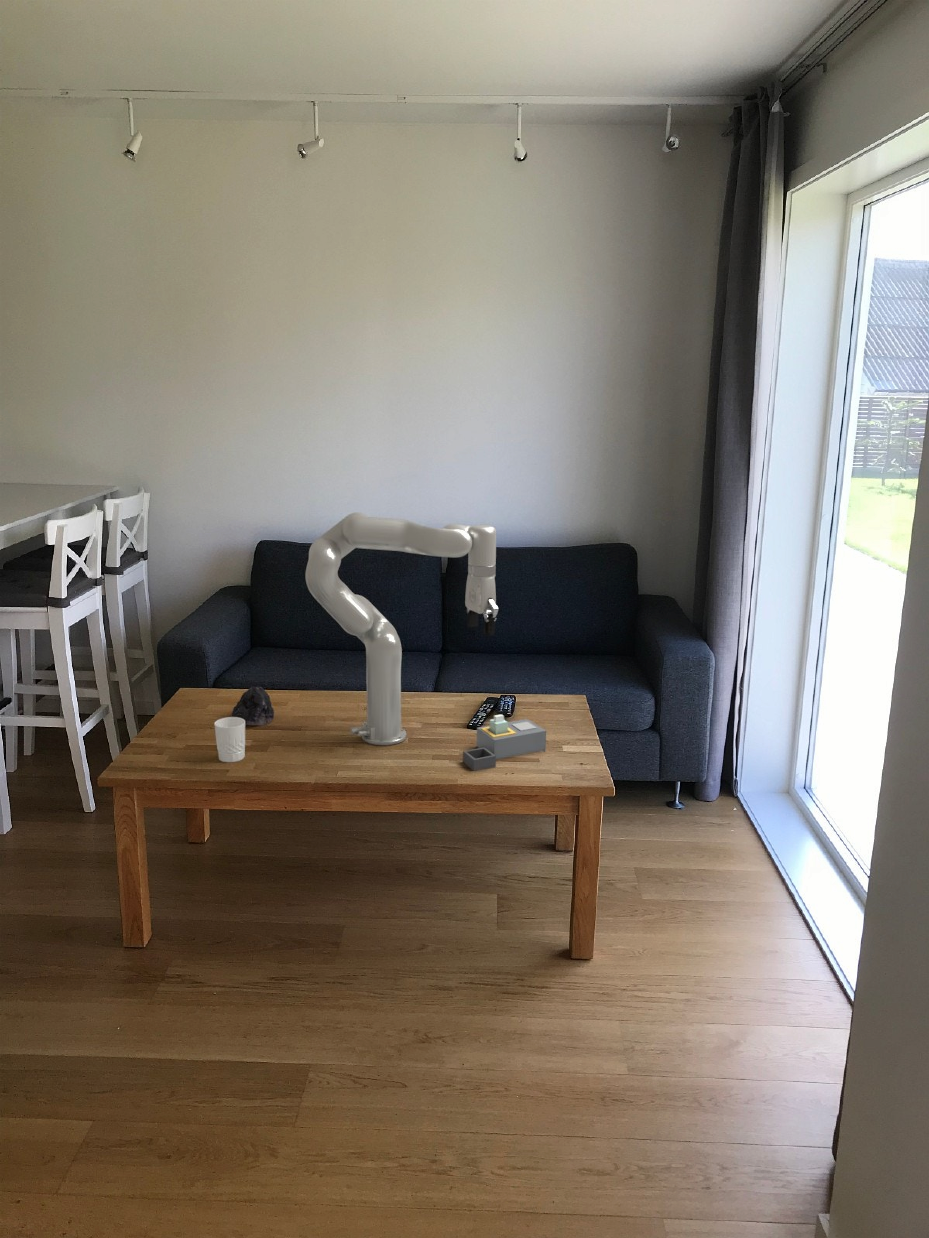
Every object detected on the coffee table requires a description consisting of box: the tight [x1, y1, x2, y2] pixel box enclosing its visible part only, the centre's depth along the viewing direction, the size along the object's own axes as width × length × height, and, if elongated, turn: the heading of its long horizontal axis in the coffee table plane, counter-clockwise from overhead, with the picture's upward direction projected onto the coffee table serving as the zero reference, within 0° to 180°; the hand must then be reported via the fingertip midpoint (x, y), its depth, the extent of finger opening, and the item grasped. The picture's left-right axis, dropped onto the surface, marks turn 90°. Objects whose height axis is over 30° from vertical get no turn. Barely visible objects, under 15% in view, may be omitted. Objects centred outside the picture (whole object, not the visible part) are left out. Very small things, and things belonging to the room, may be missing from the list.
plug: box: [489, 713, 509, 735], centre depth 250 cm, size 4×4×10 cm
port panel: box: [476, 718, 547, 760], centre depth 253 cm, size 16×10×6 cm, turn 117°
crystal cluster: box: [231, 686, 275, 726], centre depth 272 cm, size 13×14×10 cm
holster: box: [462, 747, 497, 772], centre depth 242 cm, size 6×6×4 cm
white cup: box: [213, 716, 246, 763], centre depth 244 cm, size 8×8×10 cm
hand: (480, 630), depth 258 cm, fingers open, 9 cm apart
